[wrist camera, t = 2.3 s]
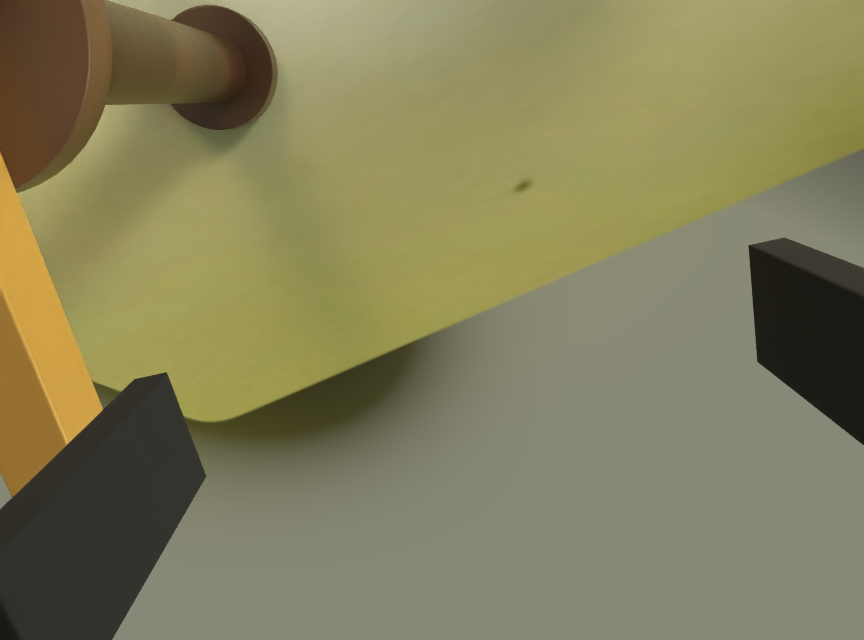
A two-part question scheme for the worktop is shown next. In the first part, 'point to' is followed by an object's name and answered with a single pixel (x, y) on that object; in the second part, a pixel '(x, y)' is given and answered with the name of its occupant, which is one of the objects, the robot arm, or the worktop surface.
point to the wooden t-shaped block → (34, 355)
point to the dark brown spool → (119, 74)
